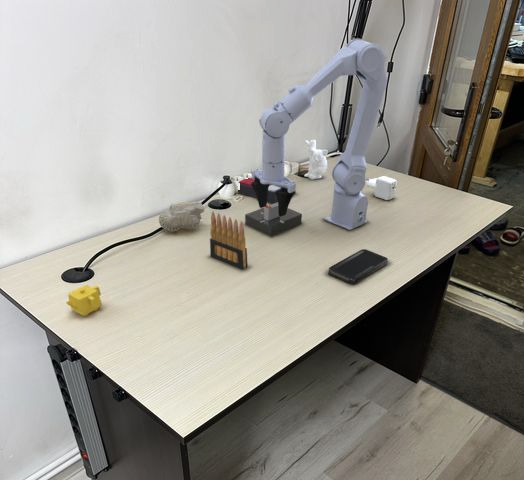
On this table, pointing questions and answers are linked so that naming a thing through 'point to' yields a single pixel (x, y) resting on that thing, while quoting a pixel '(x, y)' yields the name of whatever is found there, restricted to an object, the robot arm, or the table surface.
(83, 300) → the yellow knobbed block
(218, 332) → the table surface
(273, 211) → the knob
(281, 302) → the table surface
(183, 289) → the table surface
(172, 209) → the fossil replica
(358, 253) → the phone
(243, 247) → the ammunition clip
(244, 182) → the red and grey box
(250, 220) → the panel
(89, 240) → the table surface
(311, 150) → the white animal figurine
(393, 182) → the power adapter
